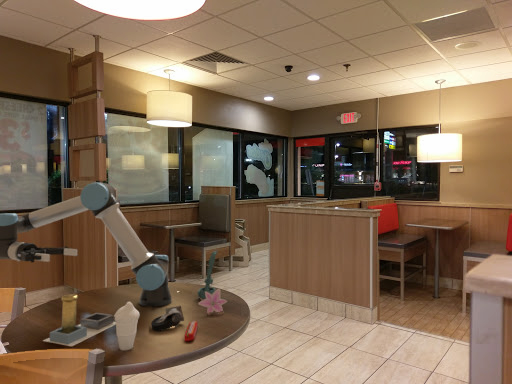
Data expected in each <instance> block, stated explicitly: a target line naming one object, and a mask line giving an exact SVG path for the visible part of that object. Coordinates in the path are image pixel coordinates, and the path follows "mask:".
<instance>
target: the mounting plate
mask: <svg viewBox="0 0 512 384" xmlns="http://www.w3.org/2000/svg"><path fill="white" fill-rule="evenodd" d="M77 326H81V323H80V324H77ZM114 326H116V321H113V323H111V324H109V325H107V326H105V327H103V328H101V329H99V330H96V329H90V328H87V336H85V337H82V338H80V339H78V340H76V341H74V342H72V343H70V344H64V343H58V342H53V341H50V337H48V338H45V339H43V340H42V341H43V342H46V343H50V344H52V343H53V344H57V345H61V346H62V345H63V346H68V347H73V346H76V345H78V344H79V343H82V342H84V341H85V340H87V339H89V338H92V337H94V336H96V335H98V334H99V333H102V332H104V331H105V330H107V329H110V328H112V327H114Z"/></svg>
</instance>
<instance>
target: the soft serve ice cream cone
mask: <svg viewBox="0 0 512 384" xmlns="http://www.w3.org/2000/svg"><path fill="white" fill-rule="evenodd" d="M140 315H141V314H140V312H139V310H137V309H136V308H135V306H134V305H133V302H131V301H127V302H126V303H125V305H123V306H121V307H120V308H118V310H117V311H116V312H115V314H113V318H114V322H116V325H115V327H116V328H115V329H116V332H115V334H116V337H117V341H118V347H119V350H120V351H129V350H132V349H133V348H134V343H135V338H136V335H137V326H138V320H139V318H140Z"/></svg>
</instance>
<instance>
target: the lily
mask: <svg viewBox="0 0 512 384" xmlns="http://www.w3.org/2000/svg"><path fill="white" fill-rule="evenodd" d="M205 295H206V299H204V300H200V301H199V302H197V305H199V306H202V307H203V308H204V307H205V308H206V309H207V311H206V312H207V313H209V312H212V313H214V312H216V313H217V312H220V311H223V312H224V309H223V305H224V304H226V303H228V300H226V299H224V298H221V289H220V287H219V288H217V289H215V292H214V293H213V294H212V295H211V294H210V293H208V292H206V291H205Z"/></svg>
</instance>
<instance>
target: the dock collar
mask: <svg viewBox="0 0 512 384" xmlns="http://www.w3.org/2000/svg"><path fill="white" fill-rule="evenodd" d="M77 325H78V324H77ZM77 325H76V330H75V331H74V332H72V333H69V334H66V333H62V326H61V327H58V328H57V329H55V330H52V331H50V332H49V338H50V341H53V342H58V343H64V344H70V343H72V342H74V341H76V340H78V339H80V338H82V337H85V336H87V327H83V326H77Z"/></svg>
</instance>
